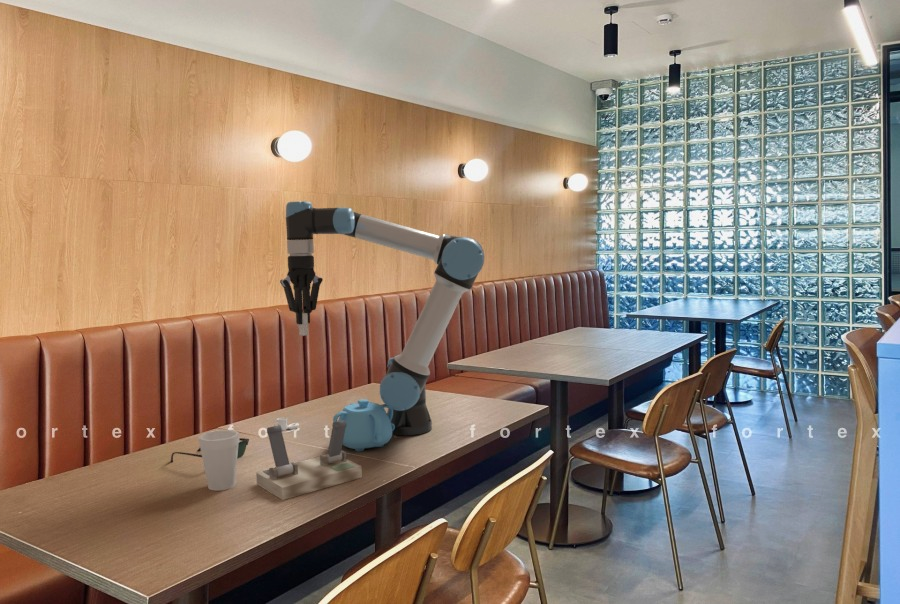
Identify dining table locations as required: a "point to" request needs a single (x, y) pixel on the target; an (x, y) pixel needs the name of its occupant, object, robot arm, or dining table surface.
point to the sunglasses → (240, 449)
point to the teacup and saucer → (283, 424)
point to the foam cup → (220, 458)
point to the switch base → (309, 476)
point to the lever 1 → (279, 451)
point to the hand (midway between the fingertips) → (303, 334)
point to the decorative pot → (366, 425)
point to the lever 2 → (336, 441)
